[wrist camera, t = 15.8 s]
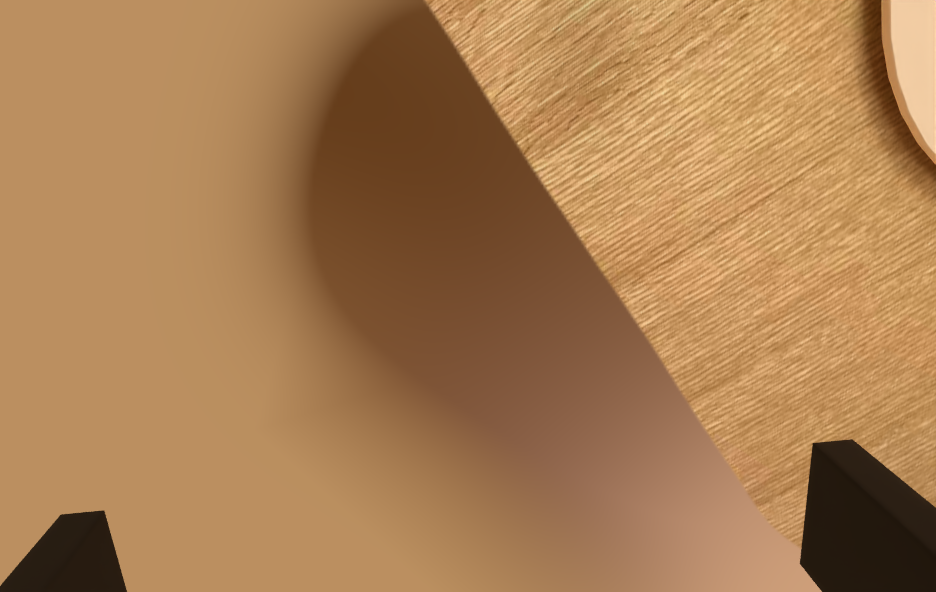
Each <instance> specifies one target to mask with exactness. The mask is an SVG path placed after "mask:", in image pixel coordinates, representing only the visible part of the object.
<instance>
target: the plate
mask: <svg viewBox="0 0 936 592" xmlns="http://www.w3.org/2000/svg"><path fill="white" fill-rule="evenodd" d="M881 11H882V43H883V49H884V55H885V61H886V67H887V73H888V78H889V81H890V84H891V87H892V90H893V93H894V96H895V99H896V102H897V104H898V107H899V110H900V113H901V115H902V117H903V118H904V120H905V122H906V124H907V126H908V127H909V129H910V131H911V133H912V135H913V136H914V138H915V140H916V142H917V143H918V144H919V146H920V147H921V148H922V149H923V150H924V152H925V153H926V154H927V155H928V156H929V158H930V159H931V160H932V161H933V162H934V163H935V165H936V0H881Z"/></svg>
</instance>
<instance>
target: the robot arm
mask: <svg viewBox="0 0 936 592" xmlns="http://www.w3.org/2000/svg"><path fill="white" fill-rule="evenodd" d="M800 564H801V566H802V567H803V568H804V569H805V571H806V572H807V573H808V574H809V576H810V577H811V578H812V580H813V581H814V582H815V583H816V584H817V586H818V587H819V588H820V590H821V591H822V592H936V508H935V507H934V506H933V505H932V504H930V503H929V502H928V501H927V500H925V499H924V498H923V497H922V496H921V495H919V494H918V493H917V492H916V491H914V490H913V489H912V488H911V487H910V486H908V485H907V484H906V483H905V482H904V481H902V480H901V479H900V478H899V477H897V476H896V475H895V474H894V473H893V472H891V471H890V470H889V469H888V468H886V467H885V466H884V465H883V464H882V463H880V462H879V461H878V460H877V459H876V458H874V457H873V456H872V455H871V454H869V453H868V452H867V451H866V450H865V449H863V448H862V447H861V446H860V445H858V444H857V443H856V442H855V441H854V440H841V441H831V442H820V443H813V447H812V456H811V465H810V475H809V484H808V493H807V503H806V512H805V521H804V531H803V540H802V549H801V559H800ZM0 592H127V590H126V587H125V583H124V580H123V576H122V573H121V569H120V565H119V562H118V558H117V555H116V551H115V547H114V544H113V540H112V537H111V533H110V530H109V526H108V522H107V519H106V515H105V512H104V511H94V512H83V513H73V514H64V515H63V514H62V515H60V516H59V518H58V519H57V520H56V521H55V522H54V523H53V525H52V526H51V527H50V528H49V529H48V530H47V532H46V533H45V534H44V535H43V536H42V537H41V539H40V540H39V541H38V542H37V543H36V545H35V546H34V547H33V548H32V549H31V550H30V552H29V553H28V554H27V555H26V556H25V558H24V559H23V560H22V561H21V562H20V563H19V565H18V566H17V567H16V568H15V569H14V570H13V572H12V573H11V574H10V575H9V576H8V577H7V579H6V580H5V581H4V582H3V583H2V585H1V586H0Z"/></svg>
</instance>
